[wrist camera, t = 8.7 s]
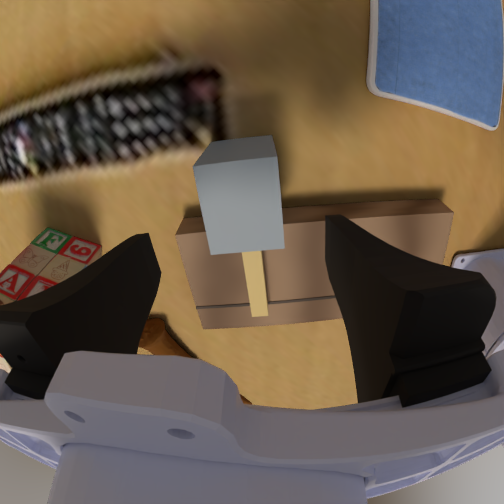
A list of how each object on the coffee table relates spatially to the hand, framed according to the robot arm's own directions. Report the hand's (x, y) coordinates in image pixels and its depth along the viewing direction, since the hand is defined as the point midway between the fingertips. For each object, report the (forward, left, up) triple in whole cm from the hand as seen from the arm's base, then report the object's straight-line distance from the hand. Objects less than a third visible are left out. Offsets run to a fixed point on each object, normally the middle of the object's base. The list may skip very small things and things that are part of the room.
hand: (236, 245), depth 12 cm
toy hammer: (0, +3, -9) cm, 10 cm away
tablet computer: (-16, -14, -10) cm, 23 cm away
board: (-5, +7, -9) cm, 13 cm away
